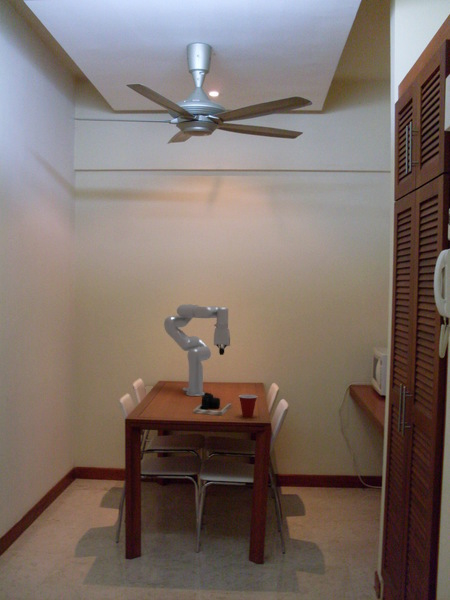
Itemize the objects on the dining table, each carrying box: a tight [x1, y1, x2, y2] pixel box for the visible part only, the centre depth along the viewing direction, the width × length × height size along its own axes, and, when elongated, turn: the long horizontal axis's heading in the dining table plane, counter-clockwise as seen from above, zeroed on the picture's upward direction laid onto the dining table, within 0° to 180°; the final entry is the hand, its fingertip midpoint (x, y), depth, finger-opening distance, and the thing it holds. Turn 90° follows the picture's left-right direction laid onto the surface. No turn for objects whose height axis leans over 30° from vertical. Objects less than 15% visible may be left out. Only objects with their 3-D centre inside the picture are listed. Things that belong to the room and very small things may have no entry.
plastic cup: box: [238, 394, 258, 418], centre depth 311 cm, size 11×11×12 cm
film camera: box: [201, 392, 221, 410], centre depth 329 cm, size 15×10×9 cm, turn 167°
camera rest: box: [192, 403, 232, 416], centre depth 324 cm, size 17×22×2 cm
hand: (221, 354), depth 351 cm, fingers closed
